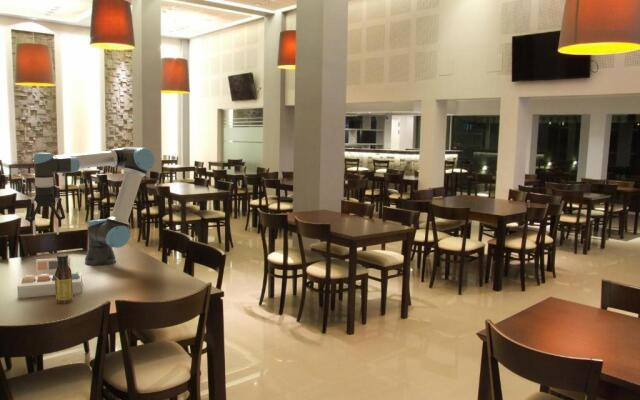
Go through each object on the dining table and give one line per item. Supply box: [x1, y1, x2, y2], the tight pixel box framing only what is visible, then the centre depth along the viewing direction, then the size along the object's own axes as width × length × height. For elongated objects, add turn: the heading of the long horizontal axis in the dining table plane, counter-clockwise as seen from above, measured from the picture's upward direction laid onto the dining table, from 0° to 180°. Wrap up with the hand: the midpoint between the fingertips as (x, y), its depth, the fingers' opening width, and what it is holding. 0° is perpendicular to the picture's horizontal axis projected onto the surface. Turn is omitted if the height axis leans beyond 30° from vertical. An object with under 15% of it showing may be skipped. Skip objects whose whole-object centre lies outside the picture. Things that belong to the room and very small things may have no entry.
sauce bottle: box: [55, 253, 74, 305], centre depth 213 cm, size 7×6×20 cm
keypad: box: [16, 271, 83, 299], centre depth 229 cm, size 24×16×5 cm, turn 113°
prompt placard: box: [35, 257, 71, 276], centre depth 240 cm, size 14×1×11 cm, turn 113°
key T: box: [21, 274, 36, 283], centre depth 225 cm, size 4×4×4 cm
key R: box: [71, 271, 80, 279], centre depth 232 cm, size 4×4×4 cm
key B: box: [38, 274, 50, 282], centre depth 227 cm, size 4×4×4 cm
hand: (46, 234), depth 243 cm, fingers open, 9 cm apart
